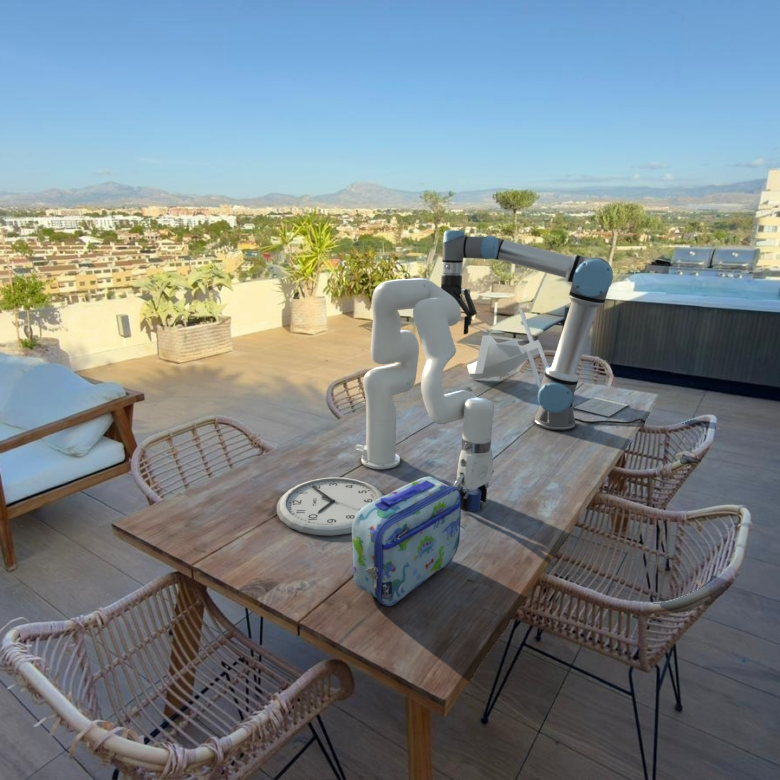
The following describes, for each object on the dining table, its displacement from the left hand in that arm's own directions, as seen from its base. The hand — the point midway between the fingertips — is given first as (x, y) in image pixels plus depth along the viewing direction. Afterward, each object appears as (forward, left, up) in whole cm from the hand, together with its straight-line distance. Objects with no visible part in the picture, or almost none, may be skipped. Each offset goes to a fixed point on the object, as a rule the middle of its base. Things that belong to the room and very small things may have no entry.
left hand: (472, 504), depth 143 cm
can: (0, 0, -1) cm, 1 cm away
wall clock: (-36, -14, -1) cm, 38 cm away
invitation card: (+33, +106, -1) cm, 111 cm away
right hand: (-25, +63, +35) cm, 76 cm away
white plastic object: (-10, +120, -1) cm, 120 cm away
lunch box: (-6, -35, -1) cm, 36 cm away
